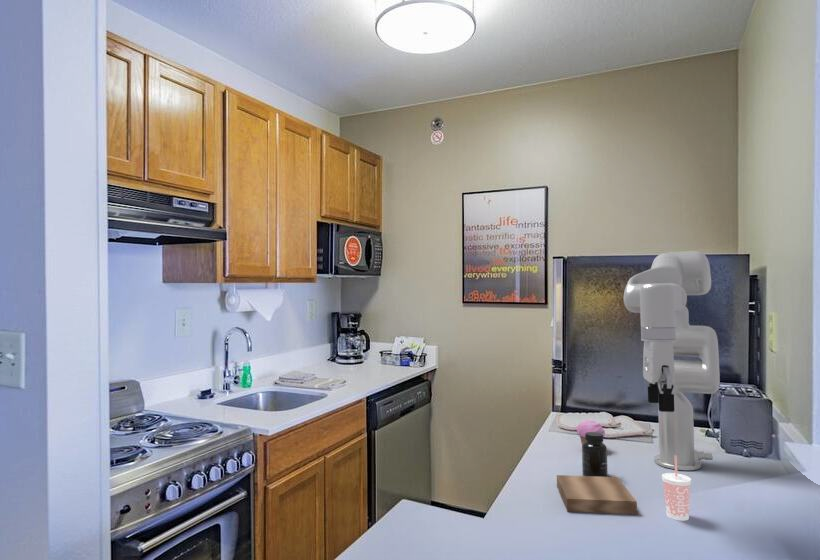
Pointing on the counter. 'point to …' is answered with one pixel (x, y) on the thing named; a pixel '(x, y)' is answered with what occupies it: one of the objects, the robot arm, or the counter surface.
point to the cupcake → (589, 429)
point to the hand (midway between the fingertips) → (660, 406)
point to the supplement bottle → (594, 455)
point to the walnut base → (595, 494)
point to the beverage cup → (677, 494)
